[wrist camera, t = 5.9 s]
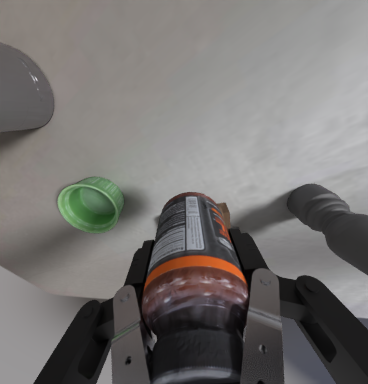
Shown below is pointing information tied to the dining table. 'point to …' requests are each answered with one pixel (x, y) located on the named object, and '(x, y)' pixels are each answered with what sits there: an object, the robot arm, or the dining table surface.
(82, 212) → the ramekin
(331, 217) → the grey turned candlestick
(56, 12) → the dining table surface
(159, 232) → the supplement bottle
